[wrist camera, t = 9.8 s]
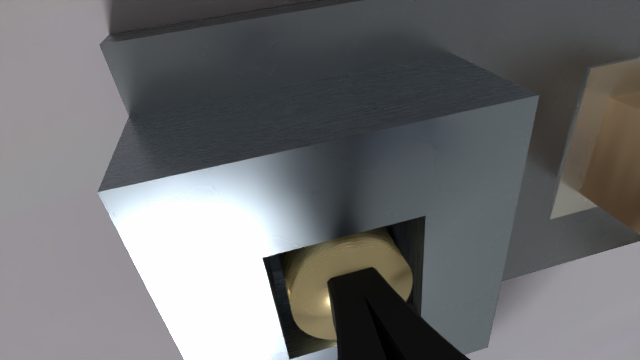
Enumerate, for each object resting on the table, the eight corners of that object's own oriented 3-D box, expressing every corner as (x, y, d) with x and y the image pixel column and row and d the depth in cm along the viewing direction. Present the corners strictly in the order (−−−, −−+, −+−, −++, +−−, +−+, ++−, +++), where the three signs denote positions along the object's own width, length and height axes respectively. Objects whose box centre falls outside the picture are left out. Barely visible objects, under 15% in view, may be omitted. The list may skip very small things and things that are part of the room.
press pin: (374, 251, 15) (411, 320, 12) (283, 275, 15) (301, 352, 12) (370, 172, 13) (413, 234, 10) (265, 197, 13) (281, 269, 10)
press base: (682, 209, 22) (795, 274, 18) (228, 338, 19) (235, 457, 14) (829, -85, 15) (1084, -93, 10) (109, 34, 11) (48, 97, 7)
